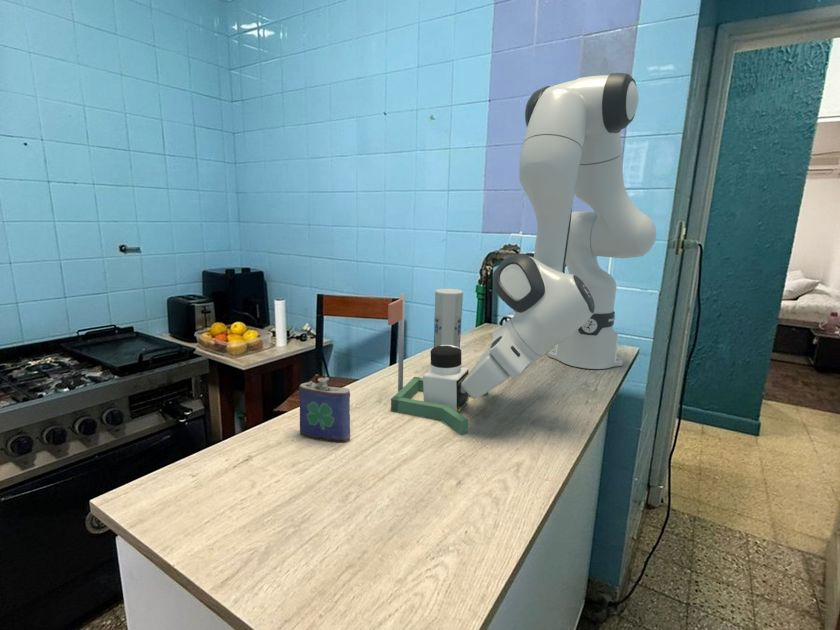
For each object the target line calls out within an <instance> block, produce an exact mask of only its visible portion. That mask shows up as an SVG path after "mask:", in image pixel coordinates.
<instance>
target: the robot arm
mask: <svg viewBox="0 0 840 630" xmlns="http://www.w3.org/2000/svg"><path fill="white" fill-rule="evenodd" d="M637 86H638V85H637V83H636V80H635V79H634V78H633V76H631V75H630V74H629V73H624V72H611V73H610V74H608V75H607V74H606V75H605V74H604V75H603V74H602V75H592V76H585V77H578V78H576V79H574V80H569V81H564V82H561V83H559V84H555V85H552V86H550V85H547V86H544V87H542V88H539V89H537V90H535V91H534V92H533V93H532V94H531V95H530V97H529V98H528V100H527V103H526V104H525V105H526V106H525V110H524V112H525V113H524V121H525V126H526V130H525V133H524V137H523V142H522V146H521V151H520V154H519V166H518V167H519V168H518V169H519V170H518V174H519V176H518V177H519V181H520V184H521V187H522V189H523V191H524V193H525V194H526V196H527V198H528V200H529V202H530V204H531V206H532V208H533V211H534V214H535V218H536V227H537V228H536V229H537V230H536V236H535V237H536V238H535V245H534V250H533V251H534V253H533V257H532V256H530V255H528V254H524V253H516V254H511V255H510V256H507V257H506V258H504V259H503V260H502V261H501V262H500V263H499V265H498V266H497V267H496V269H495V272H494V275H493V278H492V284H493V285H492V286H493V290H494V291H495V294H497V296H498V297H499V299H501V301H503V303H505V304H506V305H507V306H508V307H509V308H511V310H513V312H514V315H513V316H512V317H510V319H509V320H508V321H506V322H505V323H503V324H502V325H501V326H500V327H499V328H497V329H496V330H495V331H494V332H492V335H491V336H492V339H491V343H489V348H486V350H485V351H484V352H483V353H482V354H481V355H480V357H479V358H478V360H477V362H476V363H475V364H474V366H473V367H472V368H471V370H470V371H469V374H468V375H467V377H466V378H465V379H464V380H463V382H462V383H461V393H464V392H466V391H467V393H468V394H469V395H470V397H471V399H478V398H480V397H482V396H485V395H484V394H486V393H487V392H488V393H489V392H490V391H492V390H494V389H495V388H497V387H499V386H500V385H501V384H503V383H504V382H506V381H507V380H509V378H512V379H516V378H517V377H519V376H520V375H522V373H523V372H524V371H525V370H526V369H528V368H529V367H530V366H532V365H533V364H534V363H536V362H537V361H538V360H540V359H542V357H543V356H544V357H545V355H546V354H547V353H548V355H547V356H548V357H550V358H552V359H554V360H557V361H559V362H561V363H563V364H565V365H568V366H572V367H576V368H580V369H589V370H590V369H591V370H605V369H609V368H610V369H611V368H613V367H614V368H615V367H623V366H624V362H623V360H622V359H621V358H620V357H619V356H618V353H617V352H618V345H619V344H618V342H619V334H618V332H617V331H616V330H615V329H614V327H613V326H614V323H615V318H616V317H615V316H616V315H615V313H616V312H615V311H614V310H615V309H614V307H615V302H616V301H615V300H616V294H617V283H616V280H615V278H614V277H613V276H612V274H610V273H609V272H607V271H605V270H604V269H602V267H600V264H599V263H598V257H604V258H615V259H628V258H638V257H644V256H645V255H647V253H648V252H649V251H651V249H652V248H653V246H654V244H655V242H656V238H657V229H656V225H655V222H654V221H653V219H652V218H651V217H650V216H648V215H646V214H645V213H644V212H642V211H641V210H640V209H639V208H638V207H637V206H636V204H634V203H633V201H632V199H631V198H630V197H629V195H628V192H627V189H626V187H625V183H624V182H625V181H624V171H623V170H624V169H623V149H622V147H623V145H622V144H623V143H622V136H621V131H622V130H623V129H626V128H628V126H629V125H630V124H631V122H632V121H633V120H634V118H635V115H636V112H637V109H638V106H639V92H638V91H639V90H638V88H637ZM574 196H575V197H576V198H577V199H578V200H580V202H583V203H584V204H587V205H588V206H589V207H590V208H591V209H592V210H593V211H573V206H574ZM566 268H567V271H568V273H566ZM552 347H553V348H552ZM551 348H552V349H551ZM550 349H551V350H550ZM549 350H550V351H549Z"/></svg>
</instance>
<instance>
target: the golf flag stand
mask: <svg viewBox="0 0 840 630" xmlns="http://www.w3.org/2000/svg"><path fill="white" fill-rule="evenodd" d="M405 297H406V296H405V293H402V292H401V293H399V298H398V299H397V300H395V301H392V302H390V303H388V307H387V309H388V310H387V311H388V312H387V326H393V325H395V324H396V323H398V359H397V360H398V362H397V363H398V364H397V365H398V370H397V372H398V373H397V393H396V394H395V395H393V396H392V398H391V399H390V411H391V412H395V413H399V414H403V415H404V414H406V415H410V416H415V417H421V418H427V419H432V420H437V421H442V422H443V423H444V424H445V425H447V426H448V427H450V428H451V429H453V431H455V432H456V433H458V434H459V435H465V434H468V432H469V418H466V417H465V416H463V415H462V414H461V413H459V412H456V411H455V410H453V409H451V408H450V407H448V406H445V405H442V404H436V403H430V402H425V401H424V400H420V399H419V400H418V399H412V398H414V396H415V395H416V394H417V393H418V392H423V377H420V376H419V377H418V376H414V377H412V379H410V381H409V382H407V383H406V384H405V385H404V353H405V352H404V351H405V349H404V347H405V346H404V345H405V302H406V301H405ZM486 395H487V396H488V395H489V392H487V393H486V394H484V395H483V396H486ZM469 397H471V396H470V395H469Z"/></svg>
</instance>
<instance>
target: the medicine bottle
mask: <svg viewBox="0 0 840 630" xmlns="http://www.w3.org/2000/svg"><path fill="white" fill-rule="evenodd" d="M469 373H470V371H469V368H468V367H464V366H462V350H461V347H460V348H458V347H456V346H453V345H440V346H436V347H434V346H433V348H431V350H430V369H429V370H428V371H427V372H425V373H423V376H422V378H423V391H422V392H423V401H425V402H430V403H436V404H442V405H445V406H448V407H450V408H451V409H453V410H455V411H456V412H458V413H459V412H460V411H461V410H462V409H463V407H464V406H465V405H466V404H467V403H468V401H469V399H470V398H469V394H468V393H467V391H466V392H464V393H461V383H462V382H463V380H464V379H465V378H466V377H467V375H468V374H469Z"/></svg>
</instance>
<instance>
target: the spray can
mask: <svg viewBox="0 0 840 630" xmlns="http://www.w3.org/2000/svg"><path fill="white" fill-rule="evenodd" d="M463 296H464V291H463V290H462V289H456V288H438V289H435V291H434V321H433V323H434V324H433V325H434V326H433V348H434V347H436V346H440V345H453V346H456V347H458V348H460V349H461V336H462V335H461V334H462V320H463V319H462V316H463V300H464V297H463Z"/></svg>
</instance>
